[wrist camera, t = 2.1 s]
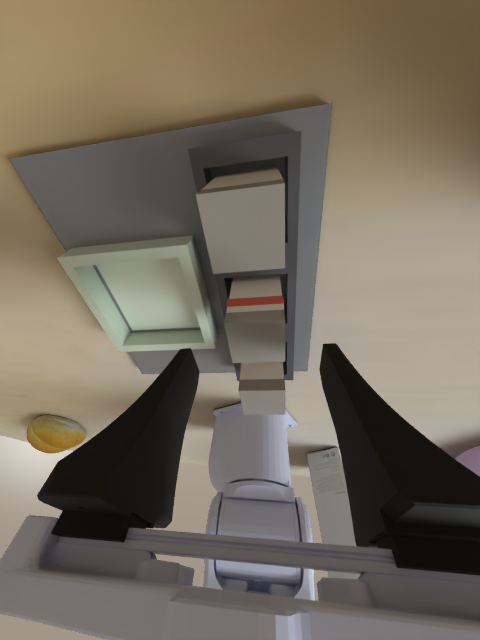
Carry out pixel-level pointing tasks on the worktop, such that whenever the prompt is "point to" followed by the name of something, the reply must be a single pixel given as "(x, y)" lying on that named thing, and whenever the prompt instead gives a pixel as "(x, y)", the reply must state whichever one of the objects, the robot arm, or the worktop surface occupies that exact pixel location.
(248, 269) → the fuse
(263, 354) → the block
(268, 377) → the block
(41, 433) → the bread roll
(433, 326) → the worktop surface
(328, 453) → the skincare box
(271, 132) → the panel
